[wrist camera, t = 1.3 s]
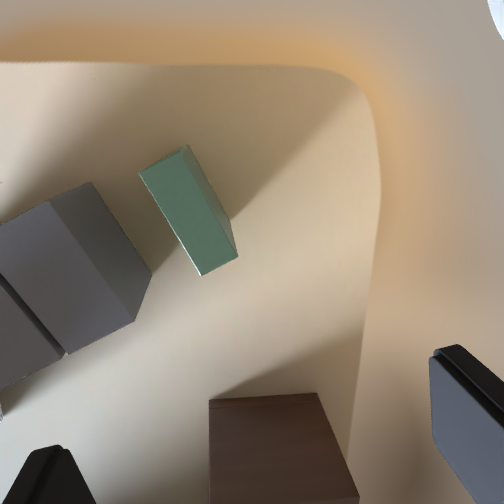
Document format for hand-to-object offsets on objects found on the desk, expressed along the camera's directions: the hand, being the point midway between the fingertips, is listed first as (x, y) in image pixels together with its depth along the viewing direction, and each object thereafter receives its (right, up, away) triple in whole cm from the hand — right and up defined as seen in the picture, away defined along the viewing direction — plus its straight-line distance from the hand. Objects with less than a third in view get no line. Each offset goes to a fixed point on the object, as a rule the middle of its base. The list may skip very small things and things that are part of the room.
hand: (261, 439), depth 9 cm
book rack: (+1, -20, +31) cm, 37 cm away
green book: (-5, +10, +20) cm, 23 cm away
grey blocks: (-15, +4, +21) cm, 26 cm away
